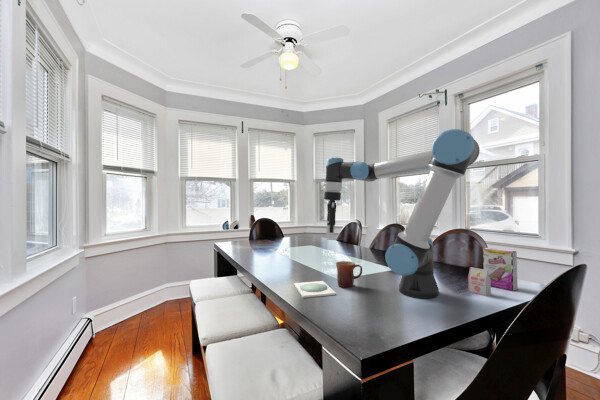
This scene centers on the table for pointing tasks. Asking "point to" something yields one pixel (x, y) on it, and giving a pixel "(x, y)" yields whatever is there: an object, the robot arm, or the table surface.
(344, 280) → the mug
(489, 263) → the candy bar box
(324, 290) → the card
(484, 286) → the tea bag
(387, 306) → the table surface
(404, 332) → the table surface
